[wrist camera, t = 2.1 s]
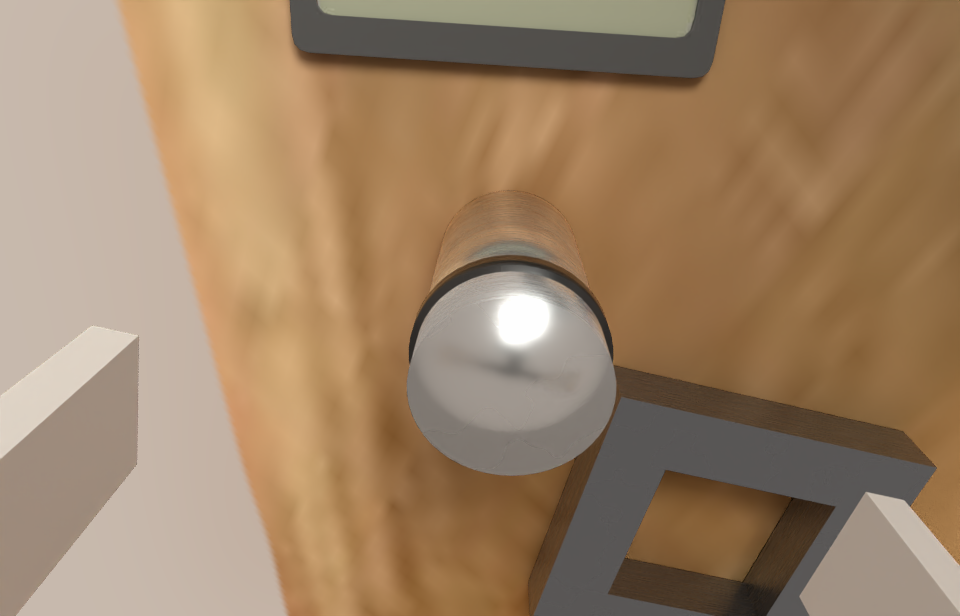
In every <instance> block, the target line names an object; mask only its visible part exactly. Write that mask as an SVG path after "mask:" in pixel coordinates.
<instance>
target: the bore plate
mask: <svg viewBox="0 0 960 616" xmlns="http://www.w3.org/2000/svg"><path fill="white" fill-rule="evenodd" d="M613 367H614V370H615V377H616V398H615V404H614V407H613V411H612V414H611V416H610V418H609V421H608V423H607V425H606V427H605V428H604V429H603V431H602V432H601V434H600V435H599V437H598V438H597V439H596V440H595V441H594V442H593V443H592V444H591V445H590V446H589V447H588V448H587V449H586V450H585V451H584V452H582V453H581V454H580V455H578V456H577V457H576V459H575V462H574V465H573V467H572V470H571V472H570V475H569V478H568V480H567V483H566V485H565V488H564V491H563V493H562V496H561V498H560V501H559V504H558V506H557V509H556V511H555V514H554V517H553V519H552V522H551V524H550V527H549V530H548V532H547V535H546V537H545V540H544V543H543V545H542V548H541V550H540V553H539V556H538V558H537V561H536V563H535V566H534V569H533V571H532V574H531V576H530V579H529V582H528V589H529V612H530V616H809V614H808V612H807V610H806V608H805V606H804V604H803V602H802V601H801V599H800V597H799V596H800V594H801V593H802V591H803V590H804V588H805V587H806V585H807V583H808V582H809V580H810V579H811V577H812V576H813V574H814V572H815V571H816V569H817V568H818V566H819V565H820V563H821V561H822V560H823V558H824V557H825V555H826V554H827V552H828V550H829V549H830V547H831V546H832V544H833V543H834V541H835V539H836V538H837V536H838V535H839V533H840V532H841V530H842V528H843V527H844V525H845V524H846V522H847V521H848V519H849V517H850V516H851V514H852V513H853V511H854V510H855V508H856V506H857V505H858V503H859V502H860V500H861V499H862V497H863V495H864V494H865V492H869V493H873V494H878V495H883V496H887V497H892V498H897V499H901V500H905V502H906V503H907V504H908V505H909V506H911V504H912V503H913V501H914V500H915V499H916V497H917V496H918V494H919V493H920V491H921V490H922V489H923V487H924V486H925V484H926V483H927V482H928V480H929V479H930V477H931V476H932V474H933V473H934V472H935V470H936V469H937V467H936V466H935V465H934V464H933V463H932V462H931V461H930V460H929V459H928V457H927V456H926V455H925V454H924V453H923V452H922V451H921V450H920V449H919V448H918V447H917V446H916V445H915V444H914V443H913V441H912V440H911V439H910V438H909V437H908V436H907V435H906V434H905V433H904V432H903V431H899V430H895V429H890V428H886V427H882V426H877V425H873V424H868V423H864V422H860V421H855V420H851V419H846V418H842V417H838V416H833V415H829V414H824V413H820V412H816V411H811V410H807V409H803V408H798V407H794V406H789V405H785V404H781V403H776V402H772V401H767V400H763V399H759V398H754V397H750V396H745V395H741V394H737V393H732V392H728V391H724V390H719V389H715V388H710V387H706V386H702V385H697V384H693V383H688V382H684V381H680V380H675V379H671V378H666V377H662V376H658V375H653V374H649V373H644V372H640V371H636V370H631V369H627V368H623V367H618V366H614V365H613ZM665 470H670V471H674V472H679V473H683V474H688V475H693V476H697V477H702V478H706V479H711V480H716V481H720V482H725V483H729V484H734V485H739V486H743V487H748V488H753V489H757V490H762V491H766V492H771V493H776V494H780V495H785V496H789V497H794V498H793V499H792V501H791V503H790V504H789V506H788V508H787V509H786V511H785V513H784V514H783V516H782V518H781V519H780V521H779V523H778V524H777V526H776V528H775V530H774V531H773V533H772V535H771V536H770V538H769V540H768V541H767V543H766V545H765V546H764V548H763V550H762V551H761V553H760V555H759V556H758V558H757V560H756V561H755V563H754V565H753V567H752V568H751V570H750V572H749V573H748V575H747V577H746V578H745V580H744V582H738V581H733V580H728V579H723V578H719V577H714V576H709V575H704V574H699V573H694V572H689V571H684V570H680V569H675V568H670V567H665V566H660V565H655V564H650V563H646V562H641V561H636V560H631V559H626V558H625V556H626V554H627V552H628V549H629V547H630V545H631V543H632V541H633V539H634V537H635V534H636V532H637V530H638V528H639V526H640V524H641V522H642V519H643V517H644V515H645V513H646V511H647V509H648V507H649V505H650V502H651V500H652V498H653V496H654V494H655V492H656V490H657V487H658V485H659V483H660V481H661V479H662V477H663V475H664V472H665Z"/></svg>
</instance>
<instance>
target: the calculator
mask: <svg viewBox="0 0 960 616" xmlns="http://www.w3.org/2000/svg"><path fill="white" fill-rule="evenodd" d="M724 4H725V0H290V12H291V28H292V36H293V40H294V44H295V45H296V46H297V47H298V48H299V49H300V50H302V51H306V52H309V53H323V54H338V55H353V56H368V57H383V58H399V59H414V60H429V61H444V62H459V63H474V64H489V65H504V66H519V67H534V68H549V69H564V70H579V71H594V72H609V73H624V74H639V75H654V76H669V77H684V78H697V77H702V76H704V75H705V74H706V73H707V72H709V70H710V67H711V65H712V62H713V58H714V53H715V48H716V43H717V39H718V34H719V29H720V24H721V19H722V14H723V9H724Z"/></svg>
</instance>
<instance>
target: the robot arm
mask: <svg viewBox="0 0 960 616" xmlns="http://www.w3.org/2000/svg"><path fill="white" fill-rule="evenodd" d="M138 358H139V335H134V334H130V333H125V332H121V331H116V330H111V329H107V328H102V327H97V326H93V325H92V326H91V327H89V328H88V329H87V330H85V331H84V332H83V333H81V334H80V335H79V336H78V337H76V338H75V339H74V340H72V341H71V342H70V343H69V344H67V345H66V346H64V347H63V348H62V349H61V350H59V351H58V352H57V353H55V354H54V355H53V356H52V357H50V358H49V359H48V360H46V361H45V362H44V363H42V364H41V365H40V366H38V367H37V368H36V369H34V370H33V371H32V372H31V373H29V374H28V375H27V376H25V377H24V378H23V379H21V380H20V381H19V382H17V383H16V384H15V385H14V386H12V387H11V388H10V389H8V390H7V391H6V392H4V393H3V394H2V395H1V396H0V616H16V614H17V613H18V612H19V611H20V609H21V608H22V607H23V606H24V604H25V603H26V602H27V601H28V600H29V598H30V597H31V596H32V595H33V593H34V592H35V591H36V590H37V588H38V587H39V586H40V585H41V583H42V582H43V581H44V580H45V578H46V577H47V576H48V575H49V573H50V572H51V571H52V570H53V568H54V567H55V566H56V565H57V563H58V562H59V561H60V559H61V558H62V557H63V556H64V554H65V553H66V552H67V551H68V550H69V548H70V547H71V546H72V545H73V543H74V542H75V541H76V540H77V538H78V537H79V536H80V534H81V533H82V532H83V531H84V530H85V528H86V527H87V526H88V525H89V523H90V522H91V521H92V520H93V518H94V517H95V516H96V515H97V513H98V512H99V511H100V510H101V508H102V507H103V506H104V505H105V503H106V502H107V501H108V500H109V498H110V497H111V496H112V495H113V493H114V492H115V491H116V490H117V488H118V487H119V486H120V485H121V484H122V482H123V481H124V480H125V479H126V477H127V476H128V475H129V474H130V472H131V471H132V470H133V469H134V467H135V466H136V465H137V433H138V431H137V430H138V429H137V428H138V427H137V426H138ZM799 597H800V599H801V601H802V602H803V604H804V606H805V608H806V610H807V612H808V614H809V616H960V566H959V565H958V563H957V562H956V561H955V560H954V559H953V557H952V556H951V555H950V554H949V553H948V551H947V550H946V549H945V548H944V547H943V546H942V544H941V543H940V542H939V541H938V540H937V538H936V537H935V536H934V535H933V534H932V533H931V531H930V530H929V529H928V528H927V527H926V525H925V524H924V523H923V522H922V521H921V519H920V518H919V517H918V516H917V515H916V514H915V512H914V511H913V510H912V509H911V508H910V506H909V505H908V504H907V503H906V502H905V500H901V499H897V498H892V497H887V496H883V495H878V494H873V493H869V492H865V494H864V495H863V497H862V499H861V500H860V502H859V503H858V505H857V506H856V508H855V510H854V511H853V513H852V514H851V516H850V517H849V519H848V521H847V522H846V524H845V525H844V527H843V528H842V530H841V532H840V533H839V535H838V536H837V538H836V539H835V541H834V543H833V544H832V546H831V547H830V549H829V550H828V552H827V554H826V555H825V557H824V558H823V560H822V561H821V563H820V565H819V566H818V568H817V569H816V571H815V572H814V574H813V576H812V577H811V579H810V580H809V582H808V583H807V585H806V587H805V588H804V590H803V591H802V593H801V594H800V596H799Z"/></svg>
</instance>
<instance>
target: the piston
mask: <svg viewBox="0 0 960 616" xmlns="http://www.w3.org/2000/svg"><path fill="white" fill-rule="evenodd" d="M409 363H410V367H409V371H408V378H407V396H408V402H409V407H410V410H411V413H412V416H413V418H414V420H415V422H416V424H417V426H418V428H419V429H420V430H421V432H422V433H423V435H424V436H425V437H426V438H427V440H428V441H429V442H430V443H431V444H432V445H433V446H434V447H435V448H436V449H438V450H439V451H440V452H441V453H442V454H444V455H445V456H447V457H448V458H450V459H451V460H453V461H455V462H457V463H459V464H461V465H463V466H466V467H468V468H471V469H473V470H477V471H481V472H484V473H489V474H496V475H508V476H515V475H528V474H534V473H539V472H543V471H547V470H550V469H553V468H555V467H558V466H560V465H563V464H564V463H566V462H568V461H570V460H572V459H574V458H575V457H577V456H578V455H580V454H581V453H582V452H584V451H585V450H586V449H587V448H588V447H589V446H590V445H591V444H592V443H593V442H594V441H595V440H596V439H597V438H598V437H599V435H600V434H601V432H602V431H603V429H604V428H605V427H606V425H607V423H608V421H609V418H610V416H611V414H612V411H613V407H614V404H615V398H616V377H615V370H614V367H613V344H612V337H611V333H610V330H609V327H608V324H607V321H606V318H605V315H604V312H603V310H602V308H601V306H600V304H599V302H598V300H597V299H596V297H595V296H594V294H593V293H592V292H591V290H590V287H589V284H588V280H587V277H586V274H585V270H584V267H583V264H582V261H581V257H580V254H579V251H578V247H577V244H576V241H575V237H574V234H573V231H572V229H571V227H570V225H569V223H568V222H567V220H566V219H565V217H564V216H563V215H562V214H561V213H560V211H559V210H558V209H556V208H555V207H554V206H553V205H552V204H550V203H549V202H547V201H546V200H544V199H542V198H540V197H538V196H536V195H533V194H530V193H526V192H521V191H509V190H508V191H498V192H493V193H489V194H486V195H483V196H481V197H479V198H477V199H475V200H473V201H471V202H470V203H468V204H467V205H465V206H464V207H463V208H462V209H461V210H460V211H459V212H458V213H457V214H456V215H455V217H454V218H453V219H452V221H451V222H450V224H449V225H448V228H447V230H446V232H445V235H444V238H443V241H442V245H441V249H440V253H439V256H438V260H437V264H436V268H435V272H434V275H433V279H432V283H431V287H430V291H429V294H428V295H427V297H426V298H425V300H424V301H423V303H422V305H421V307H420V309H419V311H418V313H417V316H416V320H415V323H414V327H413V330H412V334H411V337H410V344H409Z"/></svg>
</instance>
